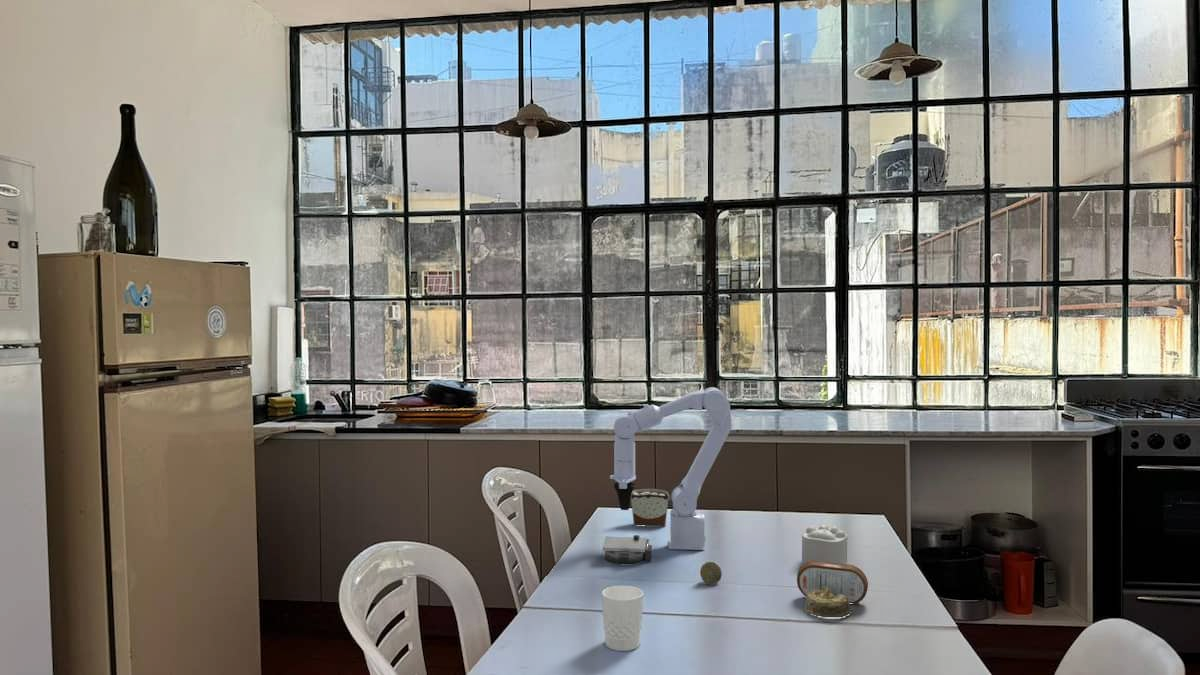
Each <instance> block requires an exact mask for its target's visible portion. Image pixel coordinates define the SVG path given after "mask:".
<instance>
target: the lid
mask: <svg viewBox="0 0 1200 675" xmlns="http://www.w3.org/2000/svg"><path fill="white" fill-rule="evenodd" d="M649 545H650V539H649V538H647V537H641V536H640V535H637V534H635V535H633V536H632V537H631V536H605V539H604V542H603V545H602V552H603V551H604V552H605V551H627V552H645V550H646V551H648V549H649Z"/></svg>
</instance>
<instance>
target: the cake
mask: <svg viewBox="0 0 1200 675" xmlns="http://www.w3.org/2000/svg"><path fill="white" fill-rule="evenodd" d="M825 588H826V587H825ZM825 588H824V591H823V590H818V589H816V590H811V591H809V592H808V593H807V594H806V596H804V597H805V605H804V608H805V609H804V612H805V611H807V612H808V613H810V614H813V615H816V616H822V617H843V616H846V615H848V614H850V612H851V611H852V609H851V607H850V606H851V605H850V604H849V600H848V598H847V596H846V595H841V594H839V595H838V596H835V597H834V595H833V594H830V591H829V589H828V588H827V589H825ZM826 590H827V591H826ZM850 609H851V610H850ZM807 612H806V613H807ZM808 613H807V614H808ZM851 613H852V612H851ZM810 614H809V615H810Z"/></svg>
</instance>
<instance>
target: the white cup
mask: <svg viewBox="0 0 1200 675" xmlns="http://www.w3.org/2000/svg"><path fill="white" fill-rule="evenodd" d="M601 598H602V599H601V601H602V618H603V622H602V623H603V632H604V643H605V646H606V647H607V648H608V649H610V650H612V651H617V652H628V651H633V650H635V649H638V648H639V647H640V645H641V636H642V635H641V632H642V631H641V630H642V628H643V627H642V624H643V622H642V621H643V605H644V603H643V602H644V591H643V590H642V589H640V588H638V587H635V586H632V585H614V586H610V587H606V588H604V589H603V590H602V591H601Z"/></svg>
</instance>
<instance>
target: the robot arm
mask: <svg viewBox="0 0 1200 675" xmlns="http://www.w3.org/2000/svg"><path fill="white" fill-rule="evenodd" d="M703 408H704V409H705V410H706V411H707V413H708V415H709V419H710V421H711V428H710V429H709V432H708V433H707V435H706V437H705V439H704V441H703V443H702V445H701V447H700V448H699V451H698V453H697V455H696V456H695V459H694V460H693V462H692V464H691V465H690V468H689V470H688V471H687V473H686V476H685V477H684V478H683V479H682V480H681V482H680V483H679V485H677V486H676V487H675V488H674V489H673V490H672V491H671V495H670V500H671V502H672V509H671V510H670V512H669V513H670V516H669V517H670V518H669V519H670V527H669V528H670V533H669V534H670V537H669V538H670V539H669V540H668V549H669V550H686V551H688V550H689V551H690V550H691V551H704V550H705V542H706V534H705V514H704V513H698V511H697V505H698V504H697V501H698V498H699V495H700V493H701V489H702V486H703V484H704V482H705V480H706V477H707V476H708V474H709V472H710V470H711V469H712V466H713V464H714V463H715V461H716V459H717V457H718V455H719V453H720V452H721V449H722V447H723V445H724V443H725V441H726V440H727V438H728V435H729V434H730V432H731V429H732V426H733V425H732V416H731V405H730V401H729V400H728V398H727V396H726V395H725V393H723V392H722V390H720V389H719V388H717V387H715V386H714V387H713V386H711V387H710V386H709V387H707V388H705V389H700V390H699V389H698V390H696V391H693V392H691V393H688V394H686V395H683V396H681V397H678V398H676V399H674V400H672V401H670V402H666V403H665V404H662V405H660V406H658V405H655V404H650V405H649V404H648V403H647V404H644V405H643V407H642V408H640V409H637V410H636V411H631V410H630V411H628V412H627V415H626V414H623V415H620V416H618V417H617V418H616V419H615V421H614V424H613V429H614V433H615V434H614V444H613V448H614V449H613V450H614V453H613V454H614V456H613V460H614V465H613V467H614V468H613V469H614V471H613V472H614V474H611V475H610V476H609V479H610V480H614V481H615V482H614V484H613V487H614V490H615V492H616V495H617V496H618V497H617V498H618V502H619V507H620V510H621V511H629V510H630V505H631V494H632V491H634V490H635V486H636V481H635V480H636V479H637V475H636V442H635V434H636V433H640V432H643V431H645V430H649V429H651V428H654V427H657V426H659V425H661V424H662V422H663V419H664V418H667V417H670V416H672V415H675V414H678V413H680V412H684V411H686V410H690V409H693V410H694V409H695V410H698V411H699V410H700V411H703Z"/></svg>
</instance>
